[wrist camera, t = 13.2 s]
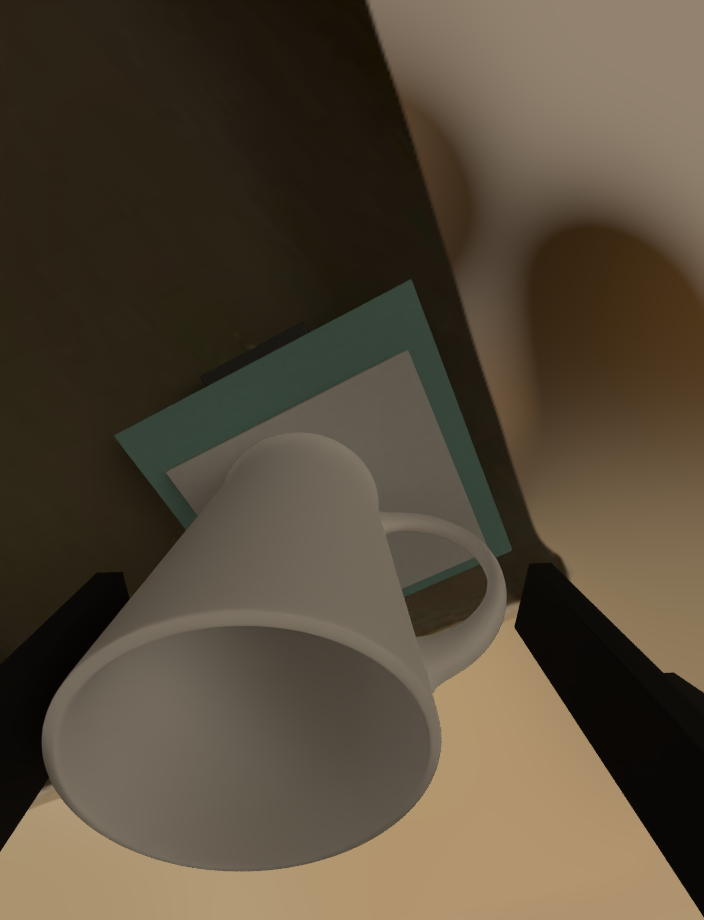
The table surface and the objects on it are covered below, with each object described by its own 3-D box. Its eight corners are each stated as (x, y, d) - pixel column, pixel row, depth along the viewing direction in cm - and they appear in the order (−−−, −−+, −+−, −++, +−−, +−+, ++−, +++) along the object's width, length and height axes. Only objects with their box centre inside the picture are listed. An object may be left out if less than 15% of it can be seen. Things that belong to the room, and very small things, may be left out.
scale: (396, 277, 18) (409, 262, 15) (493, 529, 23) (517, 556, 20) (134, 416, 19) (97, 428, 16) (283, 621, 25) (277, 659, 21)
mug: (437, 422, 17) (651, 563, 6) (432, 559, 20) (571, 843, 8) (209, 437, 16) (-61, 625, 5) (237, 575, 19) (100, 900, 8)
